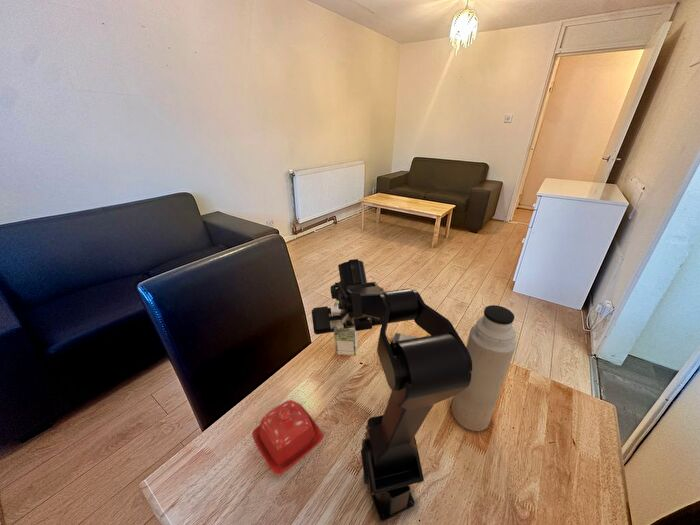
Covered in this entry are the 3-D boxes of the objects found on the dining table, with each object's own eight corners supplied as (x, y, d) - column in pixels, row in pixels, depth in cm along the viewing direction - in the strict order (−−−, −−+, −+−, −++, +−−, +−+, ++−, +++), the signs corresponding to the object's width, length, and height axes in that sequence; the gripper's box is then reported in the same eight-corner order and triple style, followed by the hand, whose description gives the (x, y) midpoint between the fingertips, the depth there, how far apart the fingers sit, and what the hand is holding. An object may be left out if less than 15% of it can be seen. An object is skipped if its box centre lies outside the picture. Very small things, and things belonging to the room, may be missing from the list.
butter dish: (327, 441, 58) (325, 414, 54) (276, 483, 51) (270, 456, 48) (297, 403, 66) (294, 377, 62) (250, 435, 59) (242, 409, 55)
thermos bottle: (485, 401, 66) (517, 302, 54) (493, 434, 59) (532, 329, 47) (449, 395, 68) (472, 297, 55) (453, 427, 61) (480, 323, 48)
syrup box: (358, 342, 82) (356, 299, 76) (356, 357, 77) (354, 312, 71) (338, 341, 83) (335, 299, 77) (335, 356, 77) (331, 312, 71)
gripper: (388, 272, 67) (373, 288, 82) (309, 281, 64) (308, 296, 78) (398, 319, 64) (380, 327, 78) (315, 331, 60) (313, 337, 75)
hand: (346, 320), depth 78 cm, fingers closed on syrup box, 7 cm apart
